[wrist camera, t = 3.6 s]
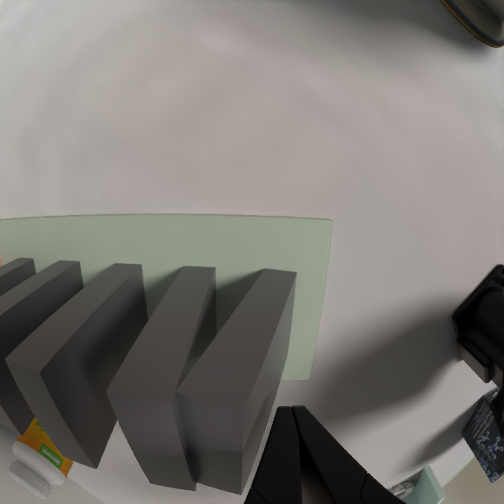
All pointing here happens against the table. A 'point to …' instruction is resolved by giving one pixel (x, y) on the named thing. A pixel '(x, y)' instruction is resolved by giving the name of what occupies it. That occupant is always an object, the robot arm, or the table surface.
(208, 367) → the domino
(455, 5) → the apothecary jar
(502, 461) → the box
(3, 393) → the domino
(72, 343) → the domino
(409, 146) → the table surface
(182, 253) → the rack
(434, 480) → the right angle wall
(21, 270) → the domino
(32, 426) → the supplement bottle
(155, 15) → the table surface
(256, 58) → the table surface
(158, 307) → the domino
